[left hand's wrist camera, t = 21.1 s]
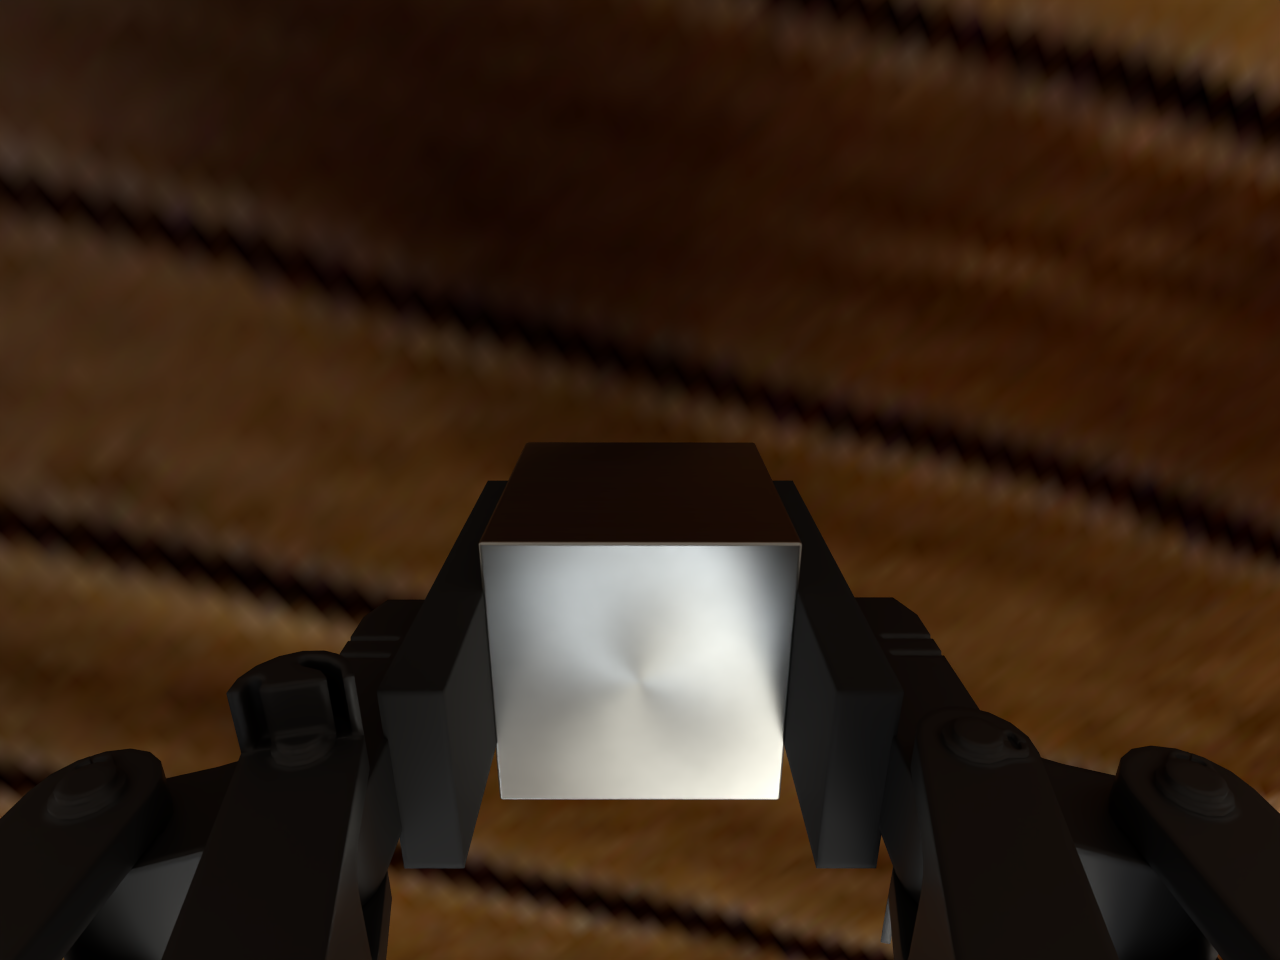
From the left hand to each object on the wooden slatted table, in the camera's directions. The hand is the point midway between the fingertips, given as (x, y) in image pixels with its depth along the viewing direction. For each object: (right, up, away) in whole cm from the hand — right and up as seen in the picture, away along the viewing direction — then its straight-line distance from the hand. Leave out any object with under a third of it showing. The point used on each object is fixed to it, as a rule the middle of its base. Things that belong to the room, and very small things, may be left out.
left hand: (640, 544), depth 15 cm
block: (0, 0, 0) cm, 0 cm away
